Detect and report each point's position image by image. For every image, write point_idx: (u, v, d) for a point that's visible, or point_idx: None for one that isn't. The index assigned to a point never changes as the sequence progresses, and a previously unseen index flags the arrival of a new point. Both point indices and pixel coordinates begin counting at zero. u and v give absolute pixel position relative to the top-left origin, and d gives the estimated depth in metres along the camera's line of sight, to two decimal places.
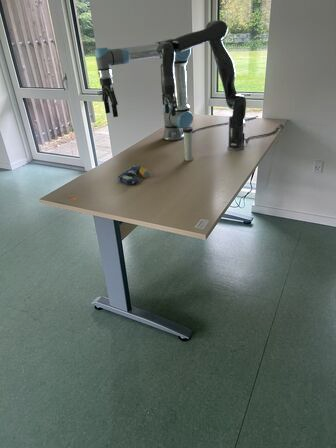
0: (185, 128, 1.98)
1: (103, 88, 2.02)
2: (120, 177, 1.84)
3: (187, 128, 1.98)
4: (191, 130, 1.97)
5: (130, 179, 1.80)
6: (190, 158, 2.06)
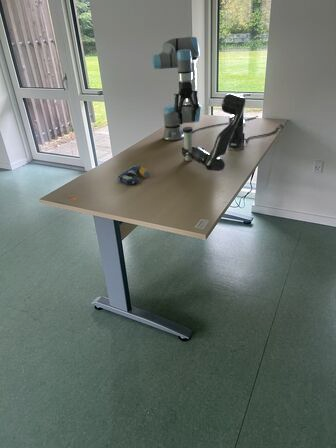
0: (185, 128, 1.98)
1: (193, 92, 1.91)
2: (120, 177, 1.84)
3: (187, 128, 1.98)
4: (191, 130, 1.97)
5: (130, 179, 1.80)
6: (190, 158, 2.06)
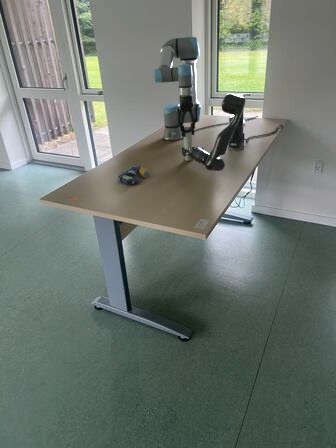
0: (185, 128, 1.98)
1: (193, 106, 1.94)
2: (120, 177, 1.84)
3: (187, 128, 1.98)
4: (191, 130, 1.97)
5: (130, 179, 1.80)
6: (190, 158, 2.06)
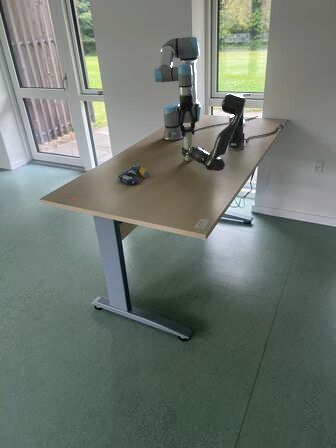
0: (187, 128, 1.97)
1: None
2: (120, 177, 1.84)
3: (188, 127, 1.98)
4: None
5: (130, 179, 1.80)
6: (190, 158, 2.06)
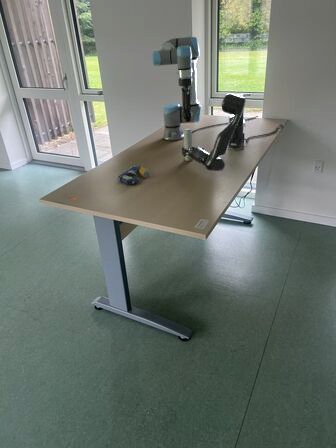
0: None
1: None
2: (120, 177, 1.84)
3: None
4: None
5: (130, 179, 1.80)
6: (190, 158, 2.06)
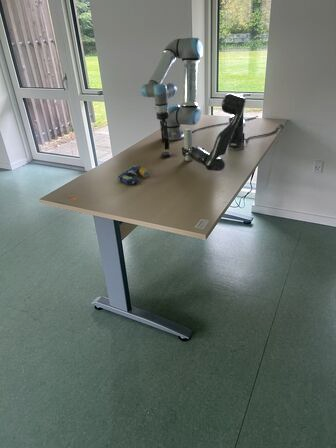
0: (167, 153, 2.15)
1: (161, 120, 2.10)
2: (120, 177, 1.84)
3: (166, 153, 2.16)
4: None
5: (130, 179, 1.80)
6: (190, 158, 2.06)
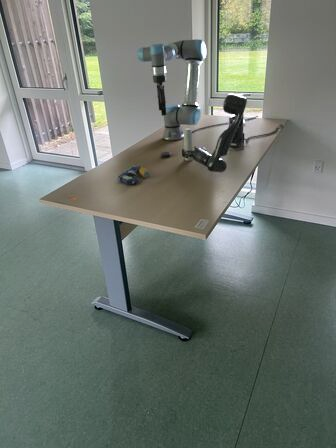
0: (167, 153, 2.15)
1: (158, 85, 1.99)
2: (120, 177, 1.84)
3: (166, 153, 2.16)
4: None
5: (130, 179, 1.80)
6: (190, 158, 2.06)
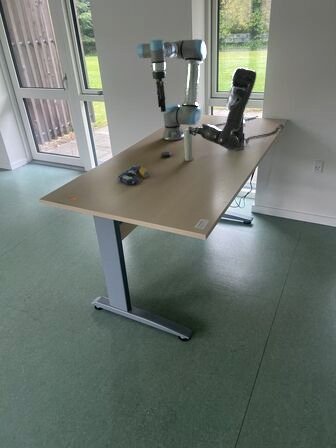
0: (167, 153, 2.15)
1: (157, 81, 1.98)
2: (120, 177, 1.84)
3: (166, 153, 2.16)
4: None
5: (130, 179, 1.80)
6: (190, 158, 2.06)
